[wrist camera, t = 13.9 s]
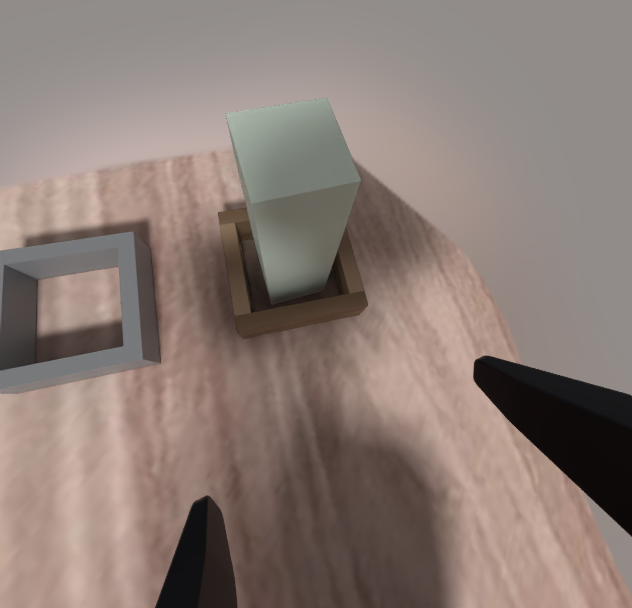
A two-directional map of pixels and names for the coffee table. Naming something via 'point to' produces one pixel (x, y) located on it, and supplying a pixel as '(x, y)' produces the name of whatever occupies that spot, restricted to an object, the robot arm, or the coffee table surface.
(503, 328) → the coffee table surface
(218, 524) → the robot arm
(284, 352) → the coffee table surface
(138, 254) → the socket
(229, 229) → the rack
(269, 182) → the peg
